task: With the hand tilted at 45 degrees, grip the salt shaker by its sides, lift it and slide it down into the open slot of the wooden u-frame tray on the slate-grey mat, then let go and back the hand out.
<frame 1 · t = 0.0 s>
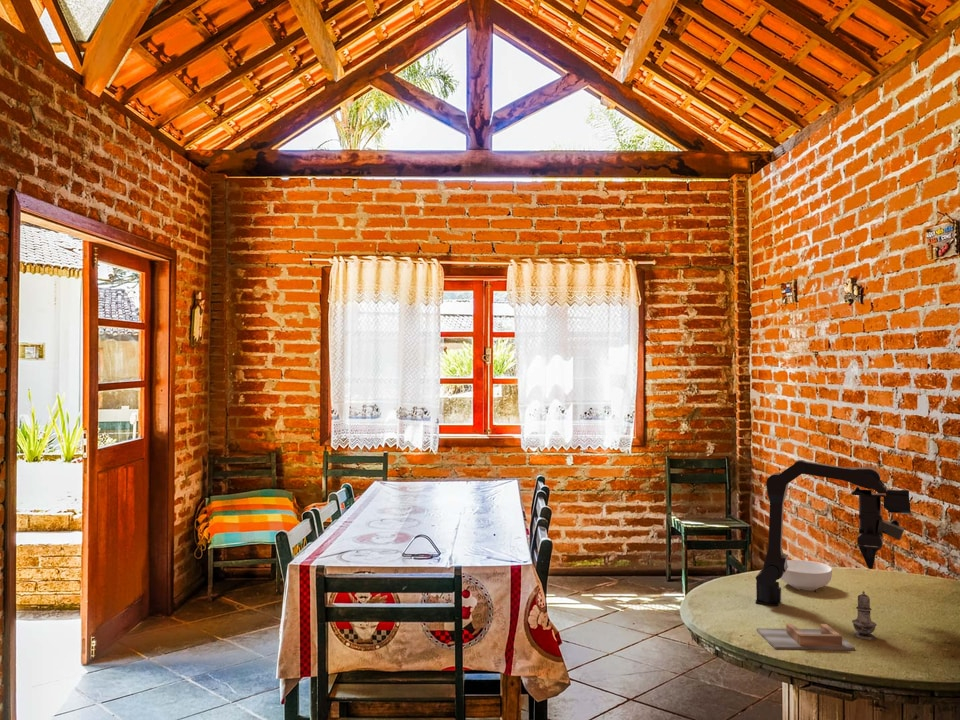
hand: (871, 565, 214), 15 cm above the table, tool pointing down, fingers open, 9 cm apart
wooden u-frame tray: (811, 640, 194), on the table
salt shaker: (864, 637, 196), on the table
cereal bowl: (804, 587, 244), on the table
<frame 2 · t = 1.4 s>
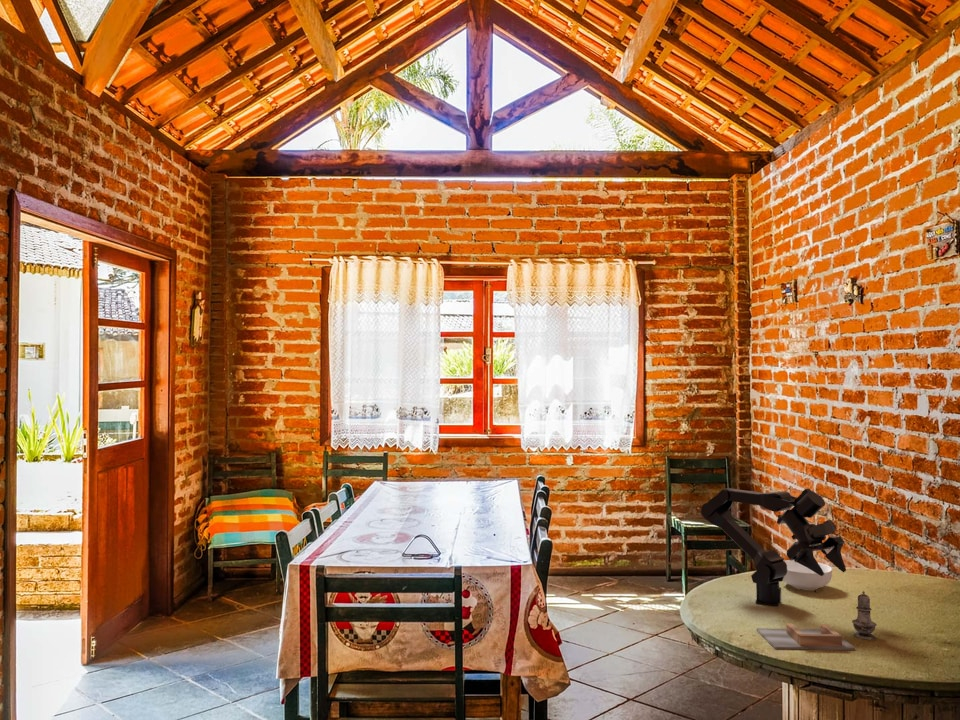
hand: (834, 573, 208), 14 cm above the table, tool tilted 45°, fingers open, 9 cm apart
nothing on the table moved.
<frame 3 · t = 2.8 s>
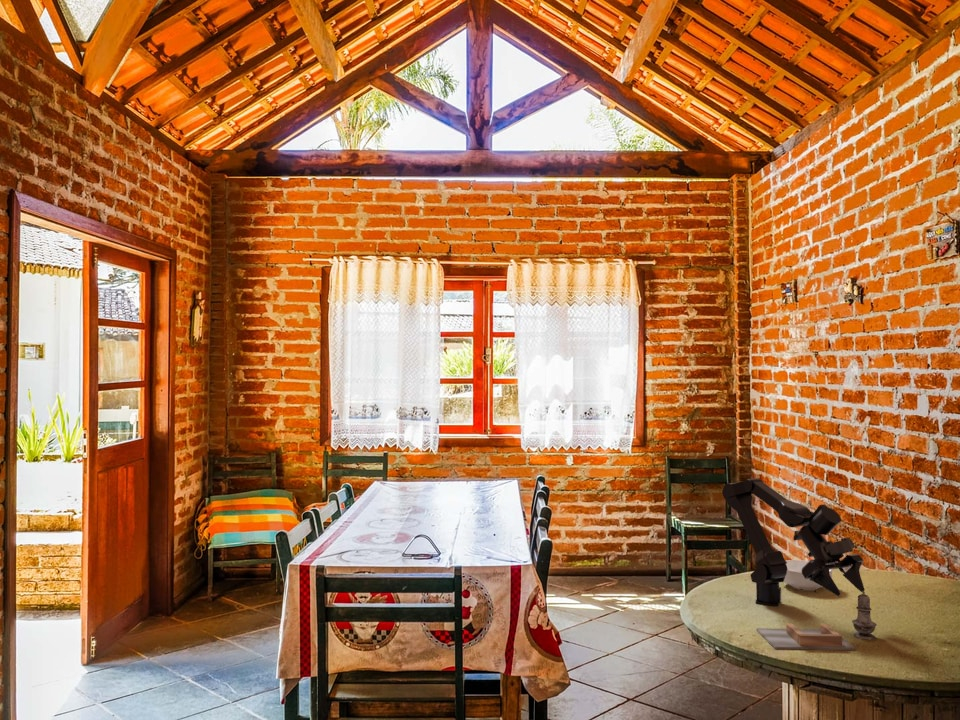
hand: (851, 593, 200), 10 cm above the table, tool tilted 45°, fingers open, 9 cm apart
nothing on the table moved.
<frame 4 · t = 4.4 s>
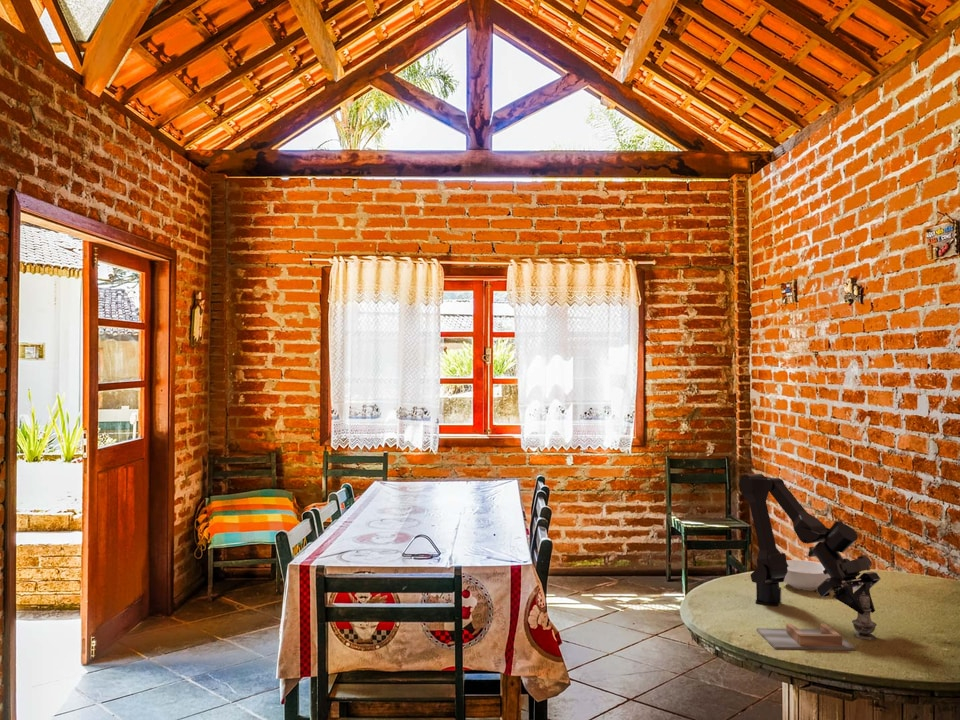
hand: (868, 612, 195), 7 cm above the table, tool tilted 45°, fingers closed on salt shaker, 4 cm apart
salt shaker: (864, 637, 196), on the table, touching gripper
everything else where it was.
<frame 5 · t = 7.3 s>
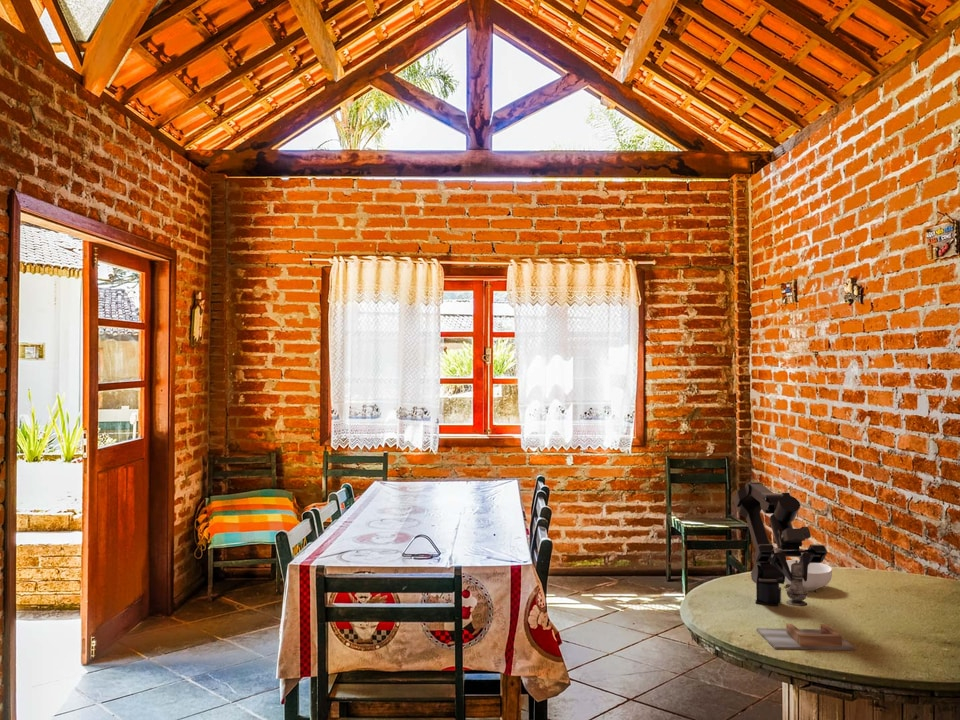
hand: (798, 580, 203), 13 cm above the table, tool tilted 45°, fingers closed on salt shaker, 4 cm apart
salt shaker: (797, 604, 204), point 6 cm above the table, touching gripper
everything else where it was.
when the fingers open (8 cm above the table, at t = 9.7 s): salt shaker drops 1 cm, resting on wooden u-frame tray.
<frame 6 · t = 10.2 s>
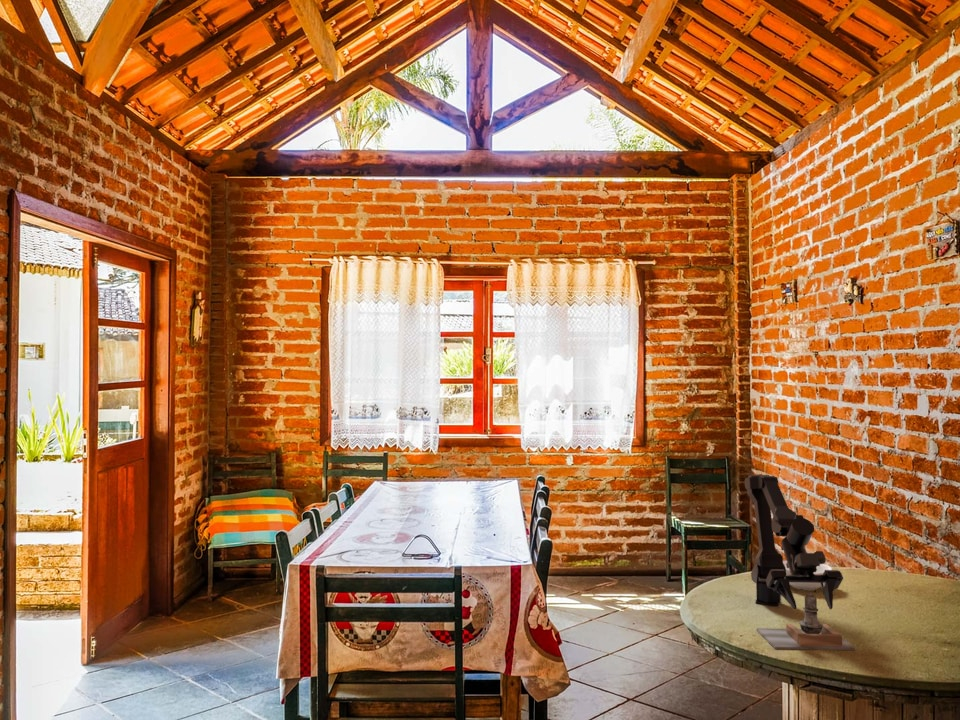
hand: (813, 608, 192), 9 cm above the table, tool tilted 45°, fingers open, 9 cm apart
salt shaker: (811, 638, 194), resting on wooden u-frame tray
everything else where it was.
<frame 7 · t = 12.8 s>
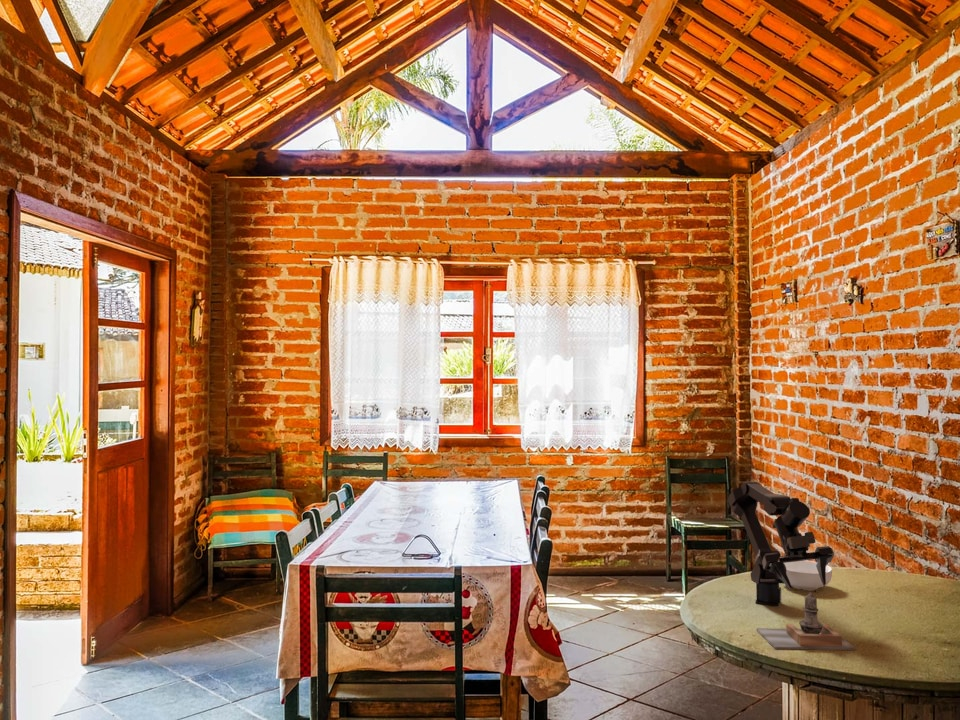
hand: (807, 586, 204), 11 cm above the table, tool tilted 40°, fingers open, 9 cm apart
nothing on the table moved.
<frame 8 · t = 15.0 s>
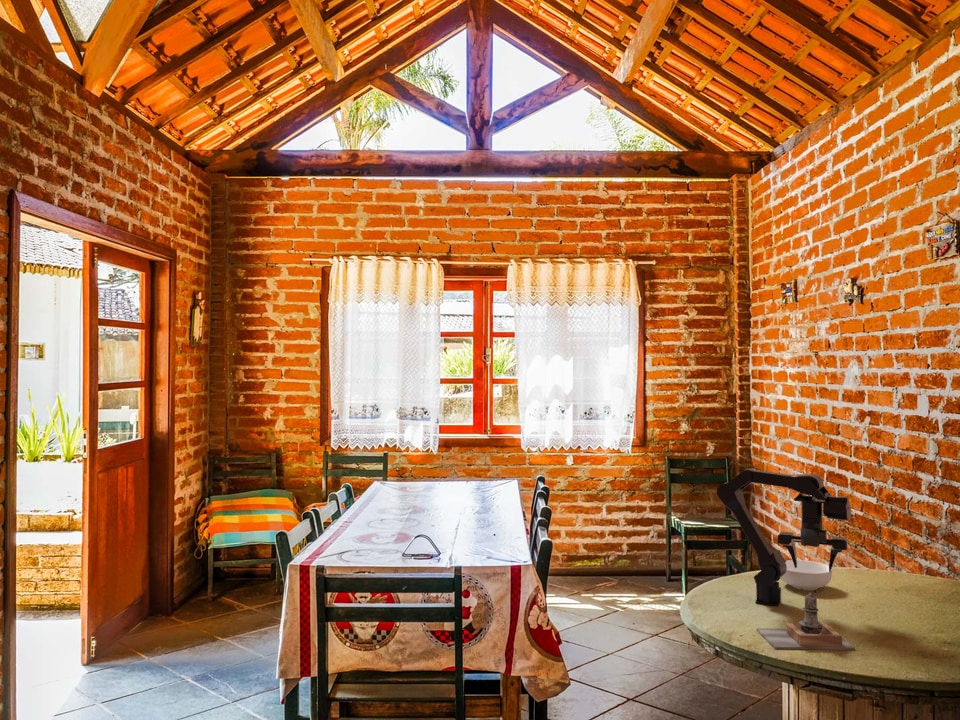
hand: (812, 569, 219), 12 cm above the table, tool pointing down, fingers open, 9 cm apart
nothing on the table moved.
at the end: salt shaker 0.1 cm off-centre on the wooden u-frame tray, point 0.4 cm above the wooden u-frame tray's base; salt shaker tilted 0°; the gripper is holding nothing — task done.
